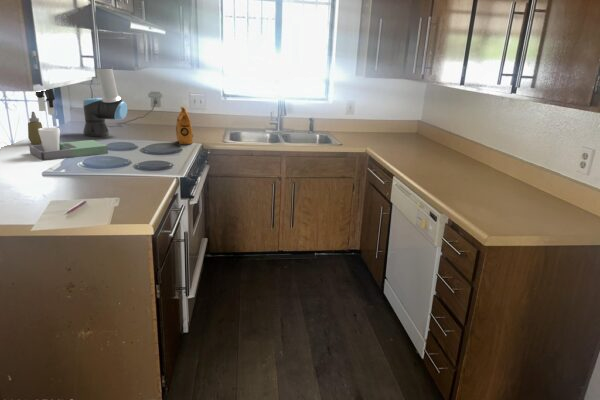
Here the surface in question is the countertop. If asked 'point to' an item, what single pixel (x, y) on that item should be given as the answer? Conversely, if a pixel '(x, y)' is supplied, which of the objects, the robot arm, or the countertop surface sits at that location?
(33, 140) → the squeeze bottle
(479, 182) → the countertop surface
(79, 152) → the grey green tray
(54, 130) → the foam cup
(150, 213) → the countertop surface
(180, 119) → the coffee package
